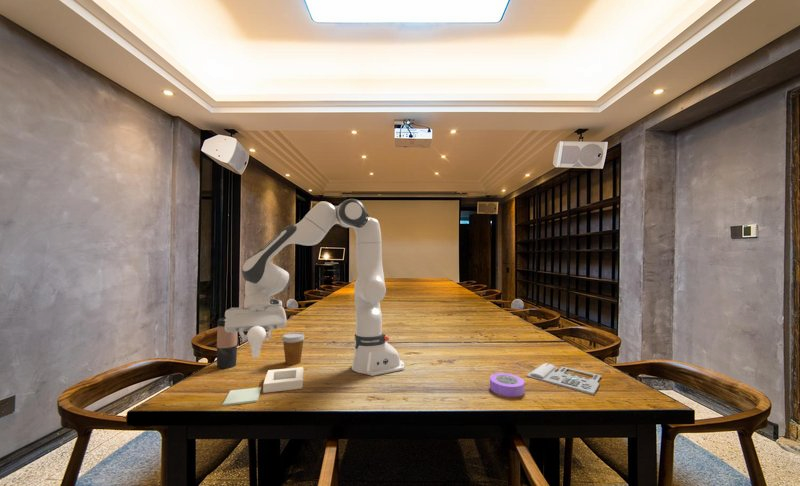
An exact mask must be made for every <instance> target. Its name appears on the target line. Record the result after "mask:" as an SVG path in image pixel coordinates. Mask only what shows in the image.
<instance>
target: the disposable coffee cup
mask: <svg viewBox="0 0 800 486" xmlns="http://www.w3.org/2000/svg"><path fill="white" fill-rule="evenodd" d="M305 338H306V337H305V334H304V333H302V332H289V333H288V332H287V333H286V334H284V335H282V338H281V340H282V343H283V352H284V360H285V365H289V366H294V365H297V364H300V363H301V361H302V360H301V359H302V354H303V348H304V347H303V345H304V340H305Z"/></svg>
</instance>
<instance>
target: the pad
mask: <svg viewBox="0 0 800 486" xmlns="http://www.w3.org/2000/svg"><path fill="white" fill-rule="evenodd" d="M262 390H263V389H262V386H259V387H252V388H251V387H250V388H242V389H241V388H240V389H231V390H229V392H228V394H227V395H226V397H225V398H224V401H223V403H222V407H227V406H234V405H242V404H251V403H257V402H258V401H259V398H260V394H261V391H262Z"/></svg>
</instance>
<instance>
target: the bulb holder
mask: <svg viewBox="0 0 800 486" xmlns="http://www.w3.org/2000/svg"><path fill="white" fill-rule="evenodd" d="M303 385H304V367H303V366H300V367H288V368H280V369H279V368H278V369H269V370H267V372H266V375H265V379H264V381H263V389H262V393H263V394H264V393H265V394H266V393H274V392H281V391H291V390H292V391H293V390H301V389H303Z"/></svg>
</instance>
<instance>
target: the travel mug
mask: <svg viewBox="0 0 800 486" xmlns="http://www.w3.org/2000/svg"><path fill="white" fill-rule="evenodd" d="M225 321H226V318H225V317H221V318H219V319H218V320H217V328H216V330H217V331H216V333H217V334H216V368H217V369H219V370H226V369H231V368H234V367H236V366H237V359H238V358H237V354H238V332H226V331H225Z"/></svg>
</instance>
